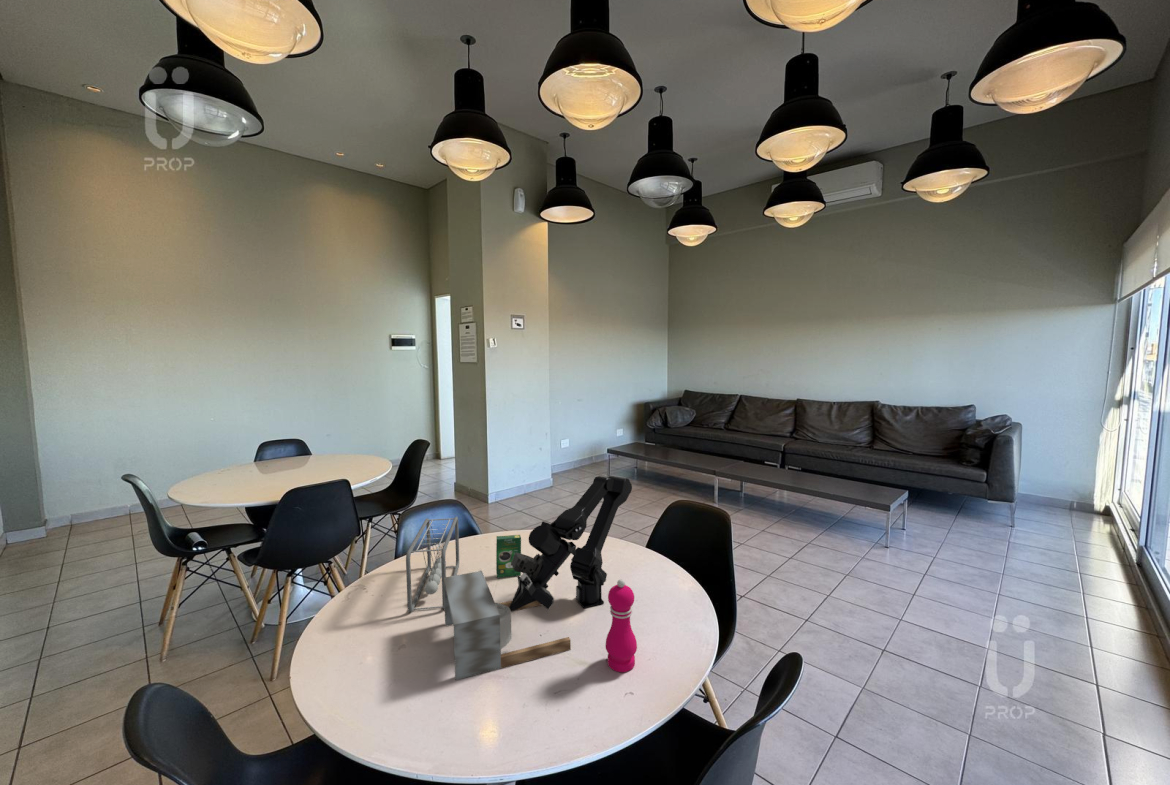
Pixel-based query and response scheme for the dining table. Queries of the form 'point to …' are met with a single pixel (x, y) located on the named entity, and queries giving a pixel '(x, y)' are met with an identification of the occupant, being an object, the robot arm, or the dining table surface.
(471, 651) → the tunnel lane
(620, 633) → the pepper mill
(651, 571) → the dining table surface
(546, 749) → the dining table surface
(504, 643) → the grey animal paw
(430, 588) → the newton's cradle
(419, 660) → the dining table surface
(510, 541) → the coffee box
